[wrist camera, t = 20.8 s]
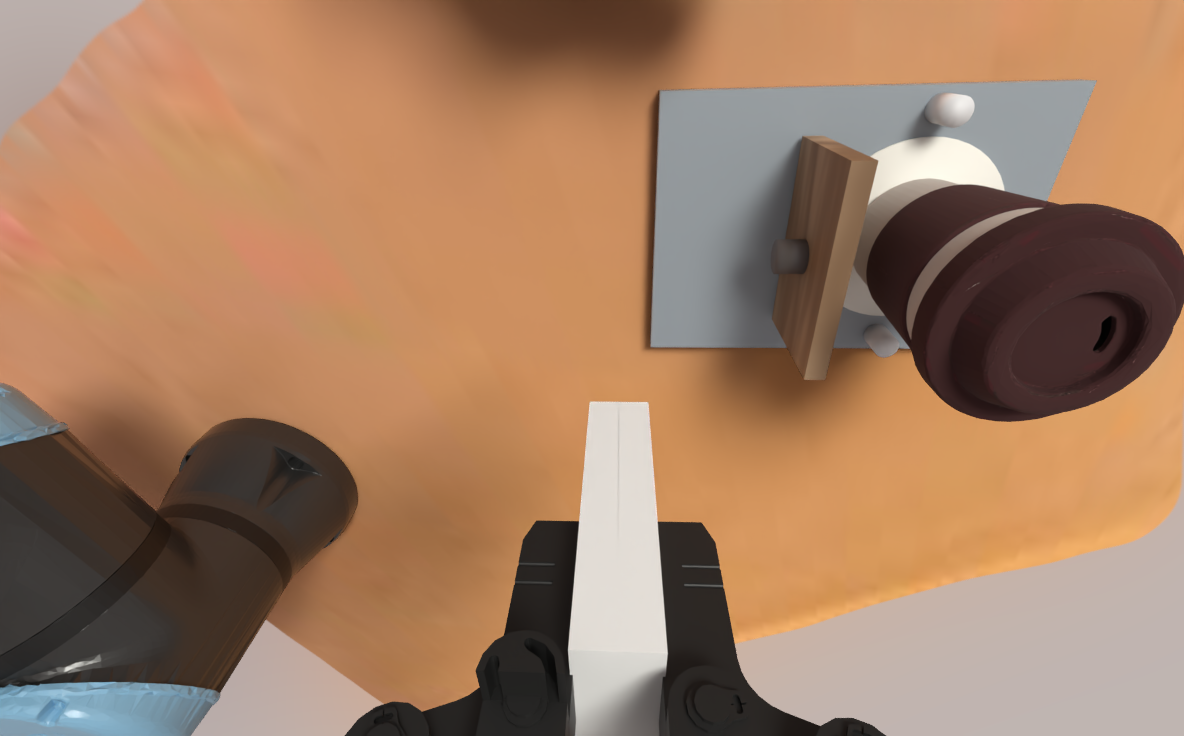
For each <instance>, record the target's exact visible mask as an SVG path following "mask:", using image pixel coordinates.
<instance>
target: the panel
mask: <svg viewBox="0 0 1184 736" xmlns="http://www.w3.org/2000/svg"><path fill="white" fill-rule="evenodd" d="M877 165H878V160H876V159H874V158H872V157H870V156H867V155H865V154H863V153H861V152H859V151H856V150H854V149H852V148H850V147H848V146H845V145H843V144H841V143H839V142H837V141H834V140H832V139H830V138H828V137H826V136H802V142H801V148H800V154H799V160H798V166H797V172H796V178H795V184H794V190H793V196H792V202H791V208H790V213H789V219H788V225H787V231H786V237H785V239H776V240H775V241H774V243H773V246H772V251H771V269H772V272H773V274H779V279H778V285H777V291H776V297H775V303H774V309H773V315H772V320H773V322H774V324H775V326H776V328H777V330H778V332H779V334H780V336H781V337H782V339H783V341H784V343H785V345H786V347H787V349H788V351H789V352H790V354H791V356H792V358H793V360H794V362H795V364H796V366H797V368H798V369H799V371H800V373H801V375H802V377H803V379H804V380H825V379H826V375H827V371H828V367H829V363H830V358H831V354H832V350H833V346H834V342H835V338H836V334H837V330H838V326H839V321H840V317H841V313H842V309H843V305H844V301H845V297H846V293H847V288H848V284H849V280H850V276H851V272H852V268H853V264H854V260H855V256H856V251H857V247H858V243H859V239H860V235H861V231H862V227H863V223H864V218H865V214H866V210H867V206H868V202H869V198H870V194H871V190H872V186H873V181H874V177H875V173H876V169H877Z"/></svg>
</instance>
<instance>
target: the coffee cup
mask: <svg viewBox="0 0 1184 736" xmlns="http://www.w3.org/2000/svg"><path fill="white" fill-rule="evenodd" d="M853 266H854V268H855V270H856V272H857V274H858V275H859V276H860V278H861V279H862V280H863V281H864V283H865V284H866V285H867V287H868V289H869V292H870V294H871V297H872V299H873V300H874V302H875V303H876V305H877V306H878V307H879V308H880V310H881V311H882V312H883V314H884V315H885V316H886V318H887V319H888V320H889V322H890V323H891V324H892V326H893V327H894V328H895V329H896V331H897V332H898V333H899V335H900V336H901V337H902V339H903V340H904V341H905V343H906V344H907V345H908V347H909V348H910V349H911V350H912V354H913V358H914V361H915V365H916V367H917V369H918V371H919V373H920V375H921V376H922V378H923V379H924V380H925V382H926V383H927V384H928V385H929V386H930V387H931V388H932V390H933V391H934V392H935V393H936V394H937V395H938V396H939V397H940V398H941V399H942V400H943V401H944V402H945V403H947V404H948V405H950V406H951V407H953V408H954V409H956V410H958V411H960V412H962V413H965V414H967V415H970V416H973V417H976V418H979V419H986V420H992V421H1006V422H1011V421H1024V420H1032V419H1039V418H1043V417H1047V416H1050V415H1054V414H1058V413H1062V412H1067V411H1072V410H1075V409H1079V408H1082V407H1086V406H1088V405H1091V404H1093V403H1096V402H1099V401H1101V400H1104V399H1105V398H1107V397H1109V396H1111V395H1112V394H1114V393H1116V392H1118V391H1120V390H1121V389H1123V388H1124V387H1126V386H1127V385H1128V384H1130V383H1131V382H1132V381H1134V380H1135V379H1136V378H1138V377H1139V376H1140V375H1141V374H1142V373H1143V372H1144V371H1146V370H1147V369H1148V368H1149V366H1150V365H1151V364H1152V363H1153V362H1154V361H1155V359H1156V358H1157V357H1158V356H1159V354H1160V353H1161V351H1162V350H1163V349H1164V347H1165V345H1166V343H1167V341H1168V339H1169V338H1170V336H1171V334H1172V331H1173V327H1174V325H1175V323H1176V321H1177V319H1178V317H1179V315H1180V313H1181V310H1182V307H1183V304H1184V255H1183V252H1182V250H1181V248H1180V246H1179V244H1178V243H1177V242H1176V240H1175V239H1174V238H1173V237H1172V236H1171V235H1170V234H1169V233H1168V232H1167V231H1166V230H1165V229H1164V228H1163V227H1161V226H1160V225H1158V224H1156V223H1154V222H1153V221H1151V220H1148V219H1146V218H1144V217H1141V216H1138V215H1135V214H1132V213H1129V212H1126V211H1122V210H1119V209H1116V208H1112V207H1109V206H1104V205H1098V204H1065V205H1059V204H1056V203H1052V202H1048V201H1044V200H1040V199H1035V198H1031V197H1027V196H1023V195H1019V194H1015V193H1011V192H1007V191H1003V190H998V189H994V188H990V187H986V186H981V185H973V184H956V183H953V182H949V181H945V180H941V179H933V178H926V179H917V180H912V181H909V182H905V183H902V184H900V185H898V186H895V187H893V188H891V189H889V190H888V191H886V192H885V193H883V194H882V195H881V196H879V197H878V198H877V199H876V200H875V201H873V202H872V203H871V204H870V206H869V207H868V208H867V210H866V214H865V218H864V223H863V227H862V231H861V235H860V239H859V243H858V247H857V251H856V256H855V260H854V264H853Z"/></svg>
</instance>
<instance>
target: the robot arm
mask: <svg viewBox="0 0 1184 736" xmlns="http://www.w3.org/2000/svg"><path fill="white" fill-rule="evenodd" d="M67 429H70V428H69V427H68V425H66V424H65V423H62V422H58V421H57V420H55V419H54V418H53V417H52V416H50V415H49V414H48V413H47V412H45V411H44V410H43V409H42V408H40V407H39V406H38V405H37V404H35V403H34V402H33V401H32V400H30V399H29V398H28V397H27V396H26V395H24V394H23V393H22V392H21V391H19V390H18V389H16V388H14V387H12V386H10V385H7V384H4V383H0V736H191V734H192V733H193V732H194V730H195V729H196V727H197V726H198V725H199V723H200V722H201V720H202V719H203V718H204V716H205V715H206V714H207V712H208V711H209V709H210V708H211V707H212V705H214V704H215V703H216V702H217V701H218V700H219V697H220V692H221V690H222V689H223V687H224V686H225V684H226V682H227V681H228V679H229V678H230V676H231V674H232V673H233V671H234V670H235V668H236V666H237V665H238V663H239V662H240V660H241V658H242V657H243V655H244V653H245V652H246V650H247V649H248V647H249V645H250V644H251V642H252V641H253V639H254V637H255V636H256V634H257V633H258V631H259V629H260V628H261V626H262V625H263V623H264V621H265V620H266V618H267V617H268V615H269V613H270V612H271V610H272V609H273V607H274V605H275V604H276V602H277V601H278V599H279V597H280V595H281V594H282V592H283V591H284V589H285V588H286V586H287V584H288V583H289V581H290V580H291V578H292V577H293V576H294V575H295V574H296V573H297V572H298V571H299V570H300V569H302V568H303V567H304V566H305V565H306V564H307V563H308V562H309V561H310V560H311V559H312V558H313V557H314V556H315V555H316V554H317V553H318V552H319V551H321V550H322V549H323V548H325V547H327V546H328V545H330V544H331V543H332V542H334V541H335V540H336V539H337V538H338V537H339V536H340V535H341V533H342V532H343V531H344V529H345V528H346V526H347V524H348V523H349V521H350V519H351V517H352V516H353V514H354V512H355V509H356V506H357V489H356V485H355V482H354V480H353V478H352V476H351V474H350V472H349V470H348V469H347V467H346V466H345V465H344V463H343V462H342V461H341V460H340V459H339V458H338V457H337V456H336V455H335V454H334V453H333V452H332V451H331V450H330V449H329V448H328V447H326V446H325V445H324V444H322V443H321V442H320V441H318V440H317V439H315V438H313V437H312V436H310V435H308V434H306V433H304V432H302V431H300V430H298V429H296V428H293V427H291V426H288V425H285V424H282V423H278V422H275V421H270V420H264V419H255V418H242V419H234V420H229V421H226V422H223V423H220V424H218V425H216V426H214V427H213V428H211V429H210V430H209V431H208V432H206V433H205V434H204V435H203V436H202V437H201V438H200V439H199V440H198V441H197V442H196V443H194V444H193V445H192V446H191V448H190V449H189V450H188V451H187V453H186V454H185V456H184V458H183V460H182V462H181V465H180V470H179V474H178V475H177V476H176V478H175V479H174V481H173V482H172V484H171V486H170V488H169V489H168V491H167V493H166V495H165V497H164V499H163V501H162V504H161V506H160V507H159V509H158V510H157V511H155V510H154V509H153V508H152V507H151V506H149V505H148V504H147V503H146V502H145V501H144V500H143V499H142V498H141V497H140V496H138V495H137V494H136V493H135V492H134V491H133V490H132V489H131V488H130V487H129V486H127V485H126V484H125V483H124V482H123V481H122V480H121V479H120V478H119V477H118V476H117V475H115V474H114V473H113V472H112V471H111V470H110V469H109V468H108V467H107V466H106V465H104V464H103V463H102V462H101V461H100V460H99V459H98V458H97V457H96V456H95V455H94V454H92V453H91V452H90V451H89V450H88V449H87V448H86V447H85V446H84V445H83V444H82V443H81V442H80V441H79V440H78V439H77V438H76V437H75V436H74V435H73V434H72V433H70V432H69V431H68V430H67ZM476 674H477V678H478V682H479V686H480V688H478V689H477V690H475V691H474V692H473V693H471V694H470V695H468V696H466V697H464V698H462V699H459V700H457V701H454V702H451V703H448V704H445V705H442V706H439V707H436V708H432V709H429V710H426V711H423V712H421V711H420V710H419V709H417V708H416V707H414V706H413V705H411V704H410V703H403V702H390V703H387V704H384V705H381V706H378V707H375V708H373V710H371V711H369V712H368V713H366V714H365V715H364V716H362V717H361V718H359V719H358V720H357V722H356V723H355V724H354V725H353V726H352V728H351V729H350V730H349V731H348V732H347V734H346V735H345V736H886V735H884V734H883V733H881V732H880V731H879V730H878V729H876V728H875V727H874V726H872V725H870V724H867V723H865V722H862V721H859V720H857V719H854V718H835V719H833V720H831V721H829V722H827V723H825V724H824V725H822V726H818V725H816V724H814V723H811V722H808V721H806V720H803V719H801V718H798V717H795V716H793V715H790V714H788V713H785V712H783V711H781V710H779V709H777V708H775V707H773V706H771V705H770V704H768V703H767V702H766V701H764V700H763V699H762V698H761V697H759V696H758V695H757V694H756V692H755V691H754V690H753V689H752V688H751V687H750V686H749V684H748V683H747V681H746V679H745V677H744V676H743V674H742V672H741V669H740V666H739V662H738V659H737V654H736V648H735V643H734V638H733V633H732V628H731V622H730V617H729V612H728V607H727V601H726V596H725V591H724V589H723V580H722V575H721V570H720V565H719V560H718V554H717V549H716V544H715V541H714V540H713V538H712V537H711V536H710V534H709V533H708V531H707V530H706V528H705V527H704V525H703V524H702V523H696V522H657V509H656V496H655V483H654V470H653V457H652V444H651V432H650V419H649V406H648V402H590V406H589V417H588V429H587V440H586V452H585V463H584V474H583V486H582V497H581V508H580V520H579V521H536V522H535V524H534V525H533V526H532V528H531V529H530V531H529V532H528V533H527V535H526V536H525V538H524V539H523V543H522V548H521V553H520V558H519V566H518V568H517V573H516V578H515V585H514V588H513V593H512V598H511V603H510V608H509V613H508V618H507V623H506V628H505V633H504V636H503V637H501V638H499V639H497V640H495V641H494V642H493V643H492V644H491V646H490V647H489V648H488V649H487V650H486V651H485V652H484V653H483V655H482V657H481V659H480V662H479V664H478V666H477V669H476Z"/></svg>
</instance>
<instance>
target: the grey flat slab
mask: <svg viewBox="0 0 1184 736" xmlns="http://www.w3.org/2000/svg"><path fill="white" fill-rule="evenodd" d="M1095 84H1096V81H1094V80H1042V81H1001V82H961V83H921V84H881V85H840V86H800V87H760V88H719V89H679V90H659V110H658V138H657V166H656V193H655V221H654V249H653V276H652V304H651V332H650V343H651V347H708V348H787V347H786V345H785V343H784V341H783V339H782V337H781V336H780V334H779V332H778V330H777V328H776V326H775V324H774V322H773V320H772V315H773V309H774V303H775V297H776V291H777V285H778V279H779V274H773V272H772V269H771V251H772V246H773V243H774V241H775V240H776V239H785V237H786V231H787V225H788V219H789V213H790V208H791V202H792V196H793V190H794V184H795V178H796V172H797V166H798V160H799V154H800V148H801V142H802V136H826V137H828V138H830V139H832V140H834V141H837V142H839V143H841V144H843V145H845V146H848V147H850V148H852V149H854V150H856V151H859V152H861V153H863V154H865V155H867V156H870V157H872V158H874V159H876V160H878V165H877V169H876V173H875V177H874V181H873V186H872V190H871V194H870V198H869V202H868V206H867V208H868V207H869V206H870V204H871V203H872V202H873V201H875V200H876V199H877V198H878V197H879V196H881V195H882V194H883V193H885V192H886V191H888V190H889V189H891V188H893V187H895V186H898V185H900V184H902V183H905V182H909V181H912V180H917V179H926V178H933V179H941V180H945V181H949V182H953V183H956V184H973V185H981V186H986V187H990V188H994V189H998V190H1003V191H1007V192H1011V193H1015V194H1019V195H1023V196H1027V197H1031V198H1035V199H1040V200H1044V201H1047V199H1048V197H1049V195H1050V192H1051V190H1052V187H1053V185H1054V182H1055V180H1056V178H1057V175H1058V173H1059V170H1060V168H1061V166H1062V163H1063V161H1064V158H1065V156H1066V154H1067V151H1068V149H1069V146H1070V144H1071V142H1072V139H1073V137H1074V134H1075V132H1076V130H1077V127H1078V125H1079V122H1080V120H1081V117H1082V115H1083V113H1084V110H1085V108H1086V105H1087V103H1088V101H1089V98H1090V96H1091V93H1092V91H1093V89H1094V86H1095ZM833 348H871V349H872V350H873V351H874V352H875V353H876V355H878V356H879V357H889V356H891V355H893V354H895V353H896V352H897V350H898V348H903V349H910V348H909V347H908V345H907V344H906V343H905V341H904V340H903V339H902V337H901V336H900V335H899V333H898V332H897V331H896V329H895V328H894V327H893V326H892V324H891V323H890V322H889V320H888V319H887V318H886V316H885V315H884V314H883V312H882V311H881V310H880V308H879V307H878V306H877V305H876V303H875V302H874V300H873V299H872V297H871V294H870V292H869V289H868V287H867V285H866V284H865V283H864V281H863V280H862V279H861V278H860V276H859V275H858V274H857V272H856V270H855V268H854V266H853V268H852V272H851V276H850V280H849V284H848V288H847V293H846V297H845V301H844V305H843V309H842V313H841V317H840V321H839V326H838V330H837V334H836V338H835V342H834V346H833Z"/></svg>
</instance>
